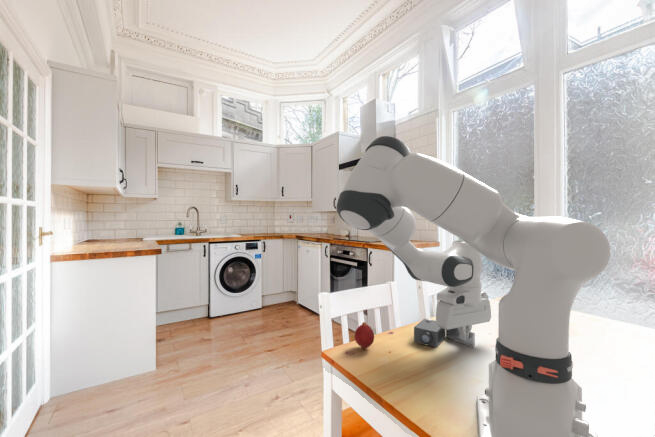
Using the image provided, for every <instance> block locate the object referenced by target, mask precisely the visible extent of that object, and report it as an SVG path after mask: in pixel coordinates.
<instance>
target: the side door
mask: <svg viewBox="0 0 655 437" xmlns="http://www.w3.org/2000/svg"><path fill="white" fill-rule="evenodd" d="M445 338H448V339H451V340H453V341H456V342H458V343H461V344H463V345H467V346H469V347H470V348H475V347H476V333H475V332H472V331H470V333H469V339H468V340H461V339H460V333H459V331H458V329H457V328H454V329H449V330H446V337H445Z"/></svg>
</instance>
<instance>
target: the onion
mask: <svg viewBox="0 0 655 437" xmlns="http://www.w3.org/2000/svg"><path fill="white" fill-rule="evenodd" d="M354 332H355V333H354V340H355V342H356V344H358V346H360V348H361V349H362V350H366V349H368V348H369V347H370V346H372V344H373V343H374V341H375V333H374V330H373V329H372V327H371V326H369V325H368V324H367V322H365V321H363V322H362V324H361V325H359V326H358V327H357V328H356V330H355V331H354Z"/></svg>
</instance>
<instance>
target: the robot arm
mask: <svg viewBox="0 0 655 437" xmlns="http://www.w3.org/2000/svg"><path fill="white" fill-rule="evenodd" d="M336 202H337V203H336V212H337V214H338V216H339V218H340V219H341V220H342V221H343V222H345V223H346V224H347V225H349V226H351V227H353V228H355V229H358V230H360V231H368V232H369V233H370V234H372V235H373V237H375V238H376V239H378V240H379V241H380V242H381V243H382V244H383V245H384V246H385V247H386V248H387V249H388V250H389V251H390V252H391V253H392V254H393V255H394V256H395V257H396V258H397V259H398V260H399V261H400V262H402V264H403V265H404V268H405V269H406V271H407V273H408V274H409V276H410V277H411V278H412V279H414V280H415V281H421V282H427V283H432V284H435V285H440V286H444V287H446V288H444V289H443V290H441V291H439V292H438V293H437V294H436V299H437V300H438V302H437V304H436V308H435V309H436V310H435V311H436V312H435V321H436V323H437V325H438V326H439V327H440V328H443V329H445V330H449V329H454V328H457V329H458V331H459V333H460V339H461V340H468V339H469V333H470V332H472V328H473V326H474V325H479V324H485V323H489V322H490V321H491V319H492V309H491V307H492V306H491V301H490V300H489V295H488V294H487V293H486V291H482V282H481V275H482V272H483V270H482V269H483V267H482V266H483V264H482V263H483V262H482V256H483V257H485V258H486V259H487V260H489V261H491V262H492V263H494V264H496V265H497V266H500V267H502V268H504V269H508V270H512V271H514V278H513V282H512V285H511V287H510V289H509V292H507V293H506V294H504V295H503V296H502V297H501V298H500V299H499V301H498V336H497V338H496V340H495V345H494V346H495V347H494V351H495V359H494V360H493V361H491V362H489V363H488V388H485V389H484V394H478V395H477V397H476V398H477V399H476V410H477V424H478V425H477V426H478V437H598V434H597V433H596V432H595V431H593V430H592V429H590V423H589V422H588V421H585V420H584V419H583V412H584V413H586V411H587V410H586V409H587V406H586V405H587V404H586V403H585V402H583V397H582V396H583V392H582V391H583V388H582V386H580V384H578V383H577V382H576V381H575V380H574V379H573V368H574V367H573V366H574V363H573V361H572V360H573V359H572V354H571V352H570V351H569V345H570V342H569V341H570V339H569V337H570V317H571V311H572V308H573V304H574V301H575V300H576V298H577V295H578V293H579V292H580V290H581V289H582V287H583V286H584V285H585V284H587V283H588V282H590V280H593V279H594V278H596V277H598V276H599V275H601V273H603V271H605V269H606V267H607V265H608V263H609V262H610V261H609V260H610V258H611V257H610V256H611V247H610V242H609V240H608V238H607V236H606V234H605V233H604V231H603V230H602V229H601V228H599V227H598V226H596V225H595V224H592V223H590V222H588V221H582V220H579V219H576V218H575V219H574V218H571V217H565V216H527V215H525V214H524V215H523V214H521V213H517V212H515V211H513V209H510V207H508V205H506V204H505V202H503V198H502V195H501V194H500V193H499V191H498V190H496V189H494V188H493V187H491V186H489V185H487V184H486V183H484V182H482V181H480V180H479V179H477V178H476V177H475V178H474V177H473V176H472V175H470V174H468V173H466V172H464V171H462V170H461V169H458V168H457V167H455V166H454V165H451V164H449V163H447V162H444V161H442V160H440V159H437V158H435V157H432V156H429V155H426V154H423V153H419V152H413V153H412V152H411V150H410V149H409V146H408V145H407V144H405V143H404V142H403V141H402V140H400V139H399V138H395V137H394V136H389V135H386V136H379V137H377V138H375V139H374V140H373V141H372V142H371V143H370V144H369V145H368V146H367V147H366V149H365V152H364V153H363V155H362V156H361V158H360V159H359V160H358V162H357V163H356V165H355V167H354V168H353V169H352V170H351V171H350V174H349V176H348V178H347V180H346V182H345V185H344V186H343V190H342V191H341V192H340V193H339V196H338V199H337V201H336ZM412 211H413V212H415V213H416V214H417V215H419V216H420V217H422V218H423V219H426V220H427V221H429V222H431V223H433V224H434V225H436V226H438V227H439V228H442V229H443V230H445V231H447V232H448V233H450V234H451V235H453V236H455V237H457V238H459V239H460V240H454V241H452V244H451V246H450V247H449V248H447V249H446V250H443V251H434V250H429V249H423V248H419V247H416V246H415V245H414V244H413V243H412V241H411V240H412V238H413V236H414V235H415V232H416V229H417V220H416V217H415V215H414V214H413V212H412Z"/></svg>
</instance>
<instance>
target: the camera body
mask: <svg viewBox="0 0 655 437" xmlns="http://www.w3.org/2000/svg"><path fill="white" fill-rule="evenodd" d="M446 338H447V337H446V330H445V329H443V328H440V327H439V326H438V325H437V323H436V320H434V319H431V318H423V319H422V320H420V321H419V322H418V323H417V324H416V325H415V326H413V342H414V343H418V344H422V345H426V346H430V347H434V348H438V347H439V345H440V344H442V342H443V341H444V340H445V339H446Z"/></svg>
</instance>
